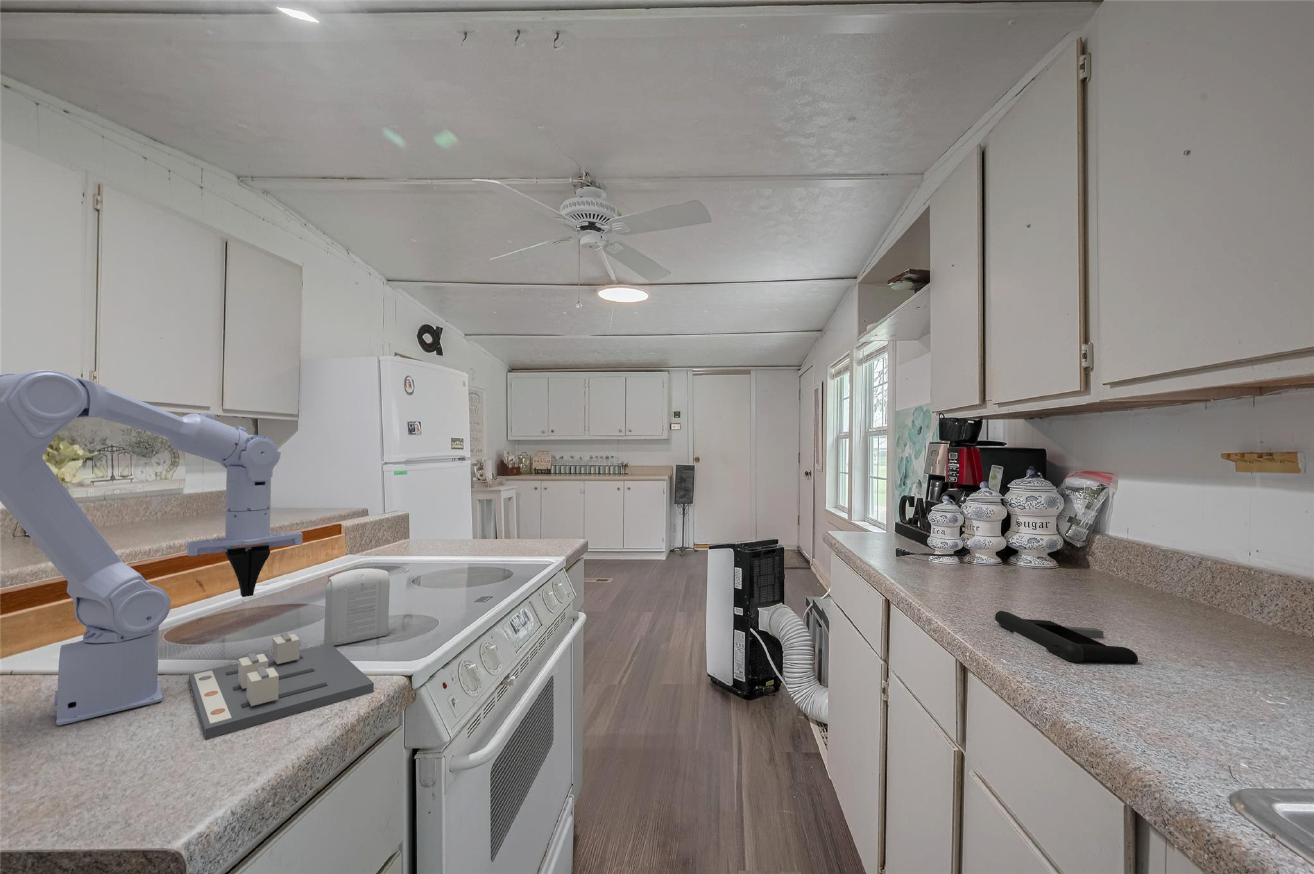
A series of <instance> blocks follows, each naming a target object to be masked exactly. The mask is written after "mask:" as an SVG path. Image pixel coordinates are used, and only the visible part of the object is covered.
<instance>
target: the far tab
mask: <svg viewBox="0 0 1314 874" xmlns="http://www.w3.org/2000/svg"><path fill="white" fill-rule="evenodd" d="M300 640H301V639H300V638H299V637H298V636H297V635H296V634H295V633H292V634H288V633H287V632H284V633H280V636H276V637H275V636H274V637H273V638H272V650H271V651H272V652H271V653H272V655H271V656H272V658H273V659H274V661H275V662H276V663H277V664H280V663H284V662H289V661H293V660H298V659H299V650H300V645H301V644H300V642H301V641H300Z"/></svg>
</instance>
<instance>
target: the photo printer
mask: <svg viewBox="0 0 1314 874" xmlns="http://www.w3.org/2000/svg"><path fill="white" fill-rule="evenodd" d="M326 584H327V585H326V587H325V603H324V604H325V607H324V631H323V632H324V635H323V636H324V637H323V639H324V640H323V645H325V644H332V645H333V646H334V647H335V646H339V645H344V644H349V643H354V642H358V641H364V640H369V639H374V638H379V637H384V636H385V637H386V636H387V635H388V634H389V617H390V615H389V612H390V586H391V585H390V576H389V572H388V571H386V570H383V569H380V568H369V567H368V568H367V567H365V568H356V569H351V570H350V569H349V570H347V571H346V570H345V571H343V572H340V573H337V574H334V575H332V576H331V577H328V580H327V583H326Z"/></svg>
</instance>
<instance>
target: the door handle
mask: <svg viewBox="0 0 1314 874" xmlns="http://www.w3.org/2000/svg"><path fill="white" fill-rule="evenodd" d="M994 620H995V621H996V622H997V624H998V625H1000V626H1001V627H1003V628H1004V629H1006V630H1008V631H1010V632H1012V633H1013V636H1014V637H1017V638H1019V639H1021V640H1023V641H1025V642H1027V643H1028V644H1031V645H1032V646H1034V647H1037V648H1038V649H1040V650H1042V651H1043V652H1045V653H1046V652H1047V653H1048V652H1049V653H1050V652H1051V653H1052V654H1054V655H1057V656H1059V657H1060V658H1062V659H1064V660H1066V661H1068V662H1070V663H1075V664H1076V663H1081V662H1094V663H1095V662H1096V663H1108V664H1109V663H1110V664H1128V665H1129V664H1131V665H1133V664H1134V665H1135V664H1137V663H1138V662H1139V657H1138V655H1137V653H1136V652H1135V651H1134V650H1132V649H1130V648H1129V647H1124V646H1115V645H1113V646H1112V645H1106V644H1104V643H1102V642H1099V641H1098V640H1096V639H1101V640H1102V639H1104V631H1103V630H1101V629H1099V628H1095V627H1094V628H1093V627H1081V626H1080V627H1079V626H1069V625H1068V626H1067V625H1064V626H1063V625H1061V624H1059V623H1056V622H1054V621H1052V620H1045V619H1043V620H1042V619H1033V618H1030V619H1028V618H1022V617H1020V616H1017V615H1015V614H1014V613H1012V612H1009V611H1006V610H1005V611H1004V610H998V611H997V612H995V615H994Z"/></svg>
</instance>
